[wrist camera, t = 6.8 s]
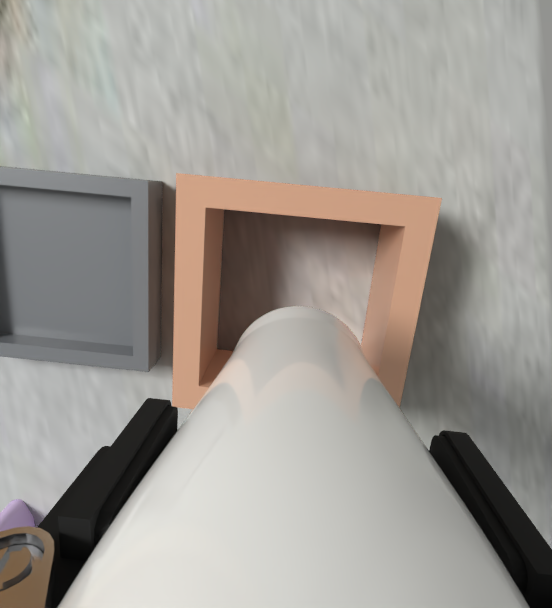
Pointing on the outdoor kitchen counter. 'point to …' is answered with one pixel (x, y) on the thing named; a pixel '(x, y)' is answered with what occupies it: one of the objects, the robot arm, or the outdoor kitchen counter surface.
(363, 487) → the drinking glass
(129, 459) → the robot arm
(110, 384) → the outdoor kitchen counter surface
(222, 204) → the terracotta holder
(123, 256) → the charcoal tray
